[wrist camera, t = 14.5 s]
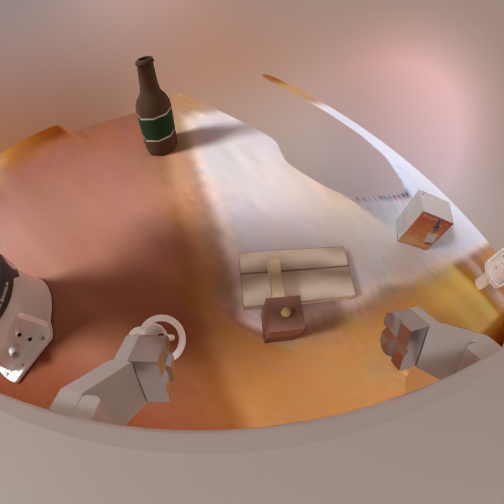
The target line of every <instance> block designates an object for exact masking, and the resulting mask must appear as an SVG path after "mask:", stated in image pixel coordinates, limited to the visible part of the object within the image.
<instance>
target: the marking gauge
mask: <svg viewBox="0 0 504 504" xmlns="http://www.w3.org/2000/svg"><path fill="white" fill-rule="evenodd" d="M267 265H268V272H269V280H270V288H271V296H272V298H266V299H265V303H264V307H263V310H262V314H261V318H262V327H263V337H264V343H270V342H279V341H288V340H294V339H295V338H296V337H297V336H298V335H299V334H300V333H301V332H302V331H303V330H304V329H305V323H304V317H303V311H302V304H301V298H300V295H298V296H287V297H285V295H284V288H283V281H282V275H281V268H280V262H279V258H278V259H268V263H267Z"/></svg>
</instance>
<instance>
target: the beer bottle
mask: <svg viewBox="0 0 504 504" xmlns="http://www.w3.org/2000/svg"><path fill="white" fill-rule="evenodd" d="M153 61H154V59H153V57H151V56H145V57H142V58H139V59H138V60H137V61H136V64H135V65H136V66H137V69H138V76H139V84H140V95H139V97H138V99H137V103H136V112H137V117H138V120H139V124H140V128H141V131H142V135H143V139H144V142H145V145H146V148H147V150H148V151H149V152H150V154H151V155H157V156H163V155H165V154H167V153H169V152H171V151H173V149H174V147H175V146H176V144H177V136H176V131H175V125H174V119H173V114H172V108H171V103H170V99H169V98H168V96H167V95H166V94H165V93H164V92H163V91H162V90H161V89H160V87H159V85H158V82H157V78H156V74H155V69H154V66H153Z"/></svg>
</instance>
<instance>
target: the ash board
mask: <svg viewBox="0 0 504 504" xmlns="http://www.w3.org/2000/svg"><path fill="white" fill-rule="evenodd" d="M278 258H279V262H280V268H281V275H282V281H283V288H284V295H285V297H287V296H298V295H300V298H301V304H302V305H305V304H314V303H323V302H331V301H339V300H347V299H352V298H353V297H354V296H355V291H354V286H353V282H352V278H351V274H350V270H349V265H348V262H347V259H346V255H345V251H344V247H343V246H342V247H326V248H309V249H293V250H276V251H260V252H243V253H239V259H240V272H241V284H242V296H243V307H244V310H249V309H262V308H263V307H264V303H265V299H266V298H272V296H271V288H270V280H269V272H268V265H267V263H268V259H278Z"/></svg>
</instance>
